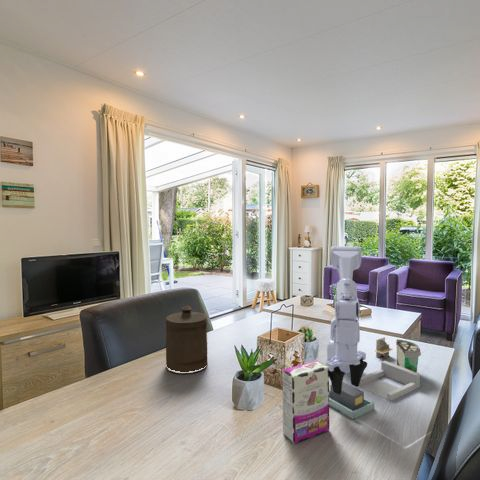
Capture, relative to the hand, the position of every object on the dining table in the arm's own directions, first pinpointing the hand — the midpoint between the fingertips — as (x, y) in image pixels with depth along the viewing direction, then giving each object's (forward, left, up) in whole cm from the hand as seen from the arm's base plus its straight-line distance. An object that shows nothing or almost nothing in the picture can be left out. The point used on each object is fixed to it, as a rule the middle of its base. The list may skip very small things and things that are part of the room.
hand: (346, 389), depth 98 cm
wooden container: (-50, -27, -5) cm, 57 cm away
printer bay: (0, +19, -5) cm, 20 cm away
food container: (-1, +33, -5) cm, 34 cm away
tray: (0, 0, -5) cm, 5 cm away
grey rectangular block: (0, 0, -4) cm, 4 cm away
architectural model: (-15, +39, -5) cm, 43 cm away
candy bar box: (+3, -19, -5) cm, 19 cm away
